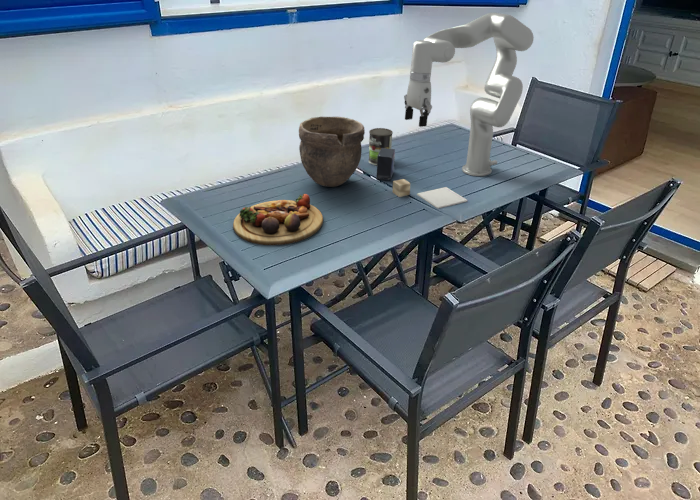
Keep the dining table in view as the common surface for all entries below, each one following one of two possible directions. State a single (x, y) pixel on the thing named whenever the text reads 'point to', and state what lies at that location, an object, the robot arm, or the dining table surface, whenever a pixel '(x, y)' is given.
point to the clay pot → (330, 148)
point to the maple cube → (401, 187)
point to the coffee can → (378, 142)
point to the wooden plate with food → (278, 221)
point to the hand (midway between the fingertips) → (415, 122)
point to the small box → (385, 164)
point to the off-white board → (442, 197)
